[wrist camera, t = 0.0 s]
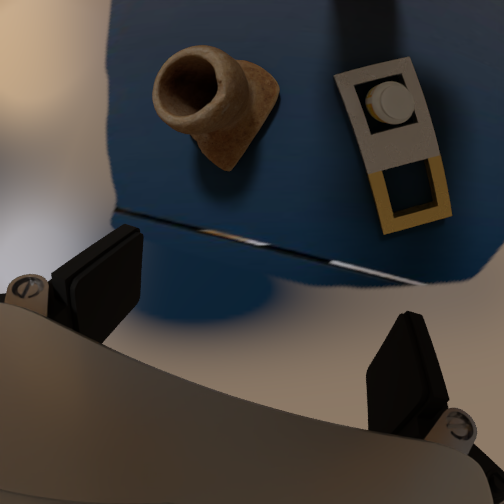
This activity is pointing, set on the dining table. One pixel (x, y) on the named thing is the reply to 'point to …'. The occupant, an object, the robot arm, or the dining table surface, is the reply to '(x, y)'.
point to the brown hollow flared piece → (214, 100)
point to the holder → (396, 145)
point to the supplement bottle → (390, 103)
